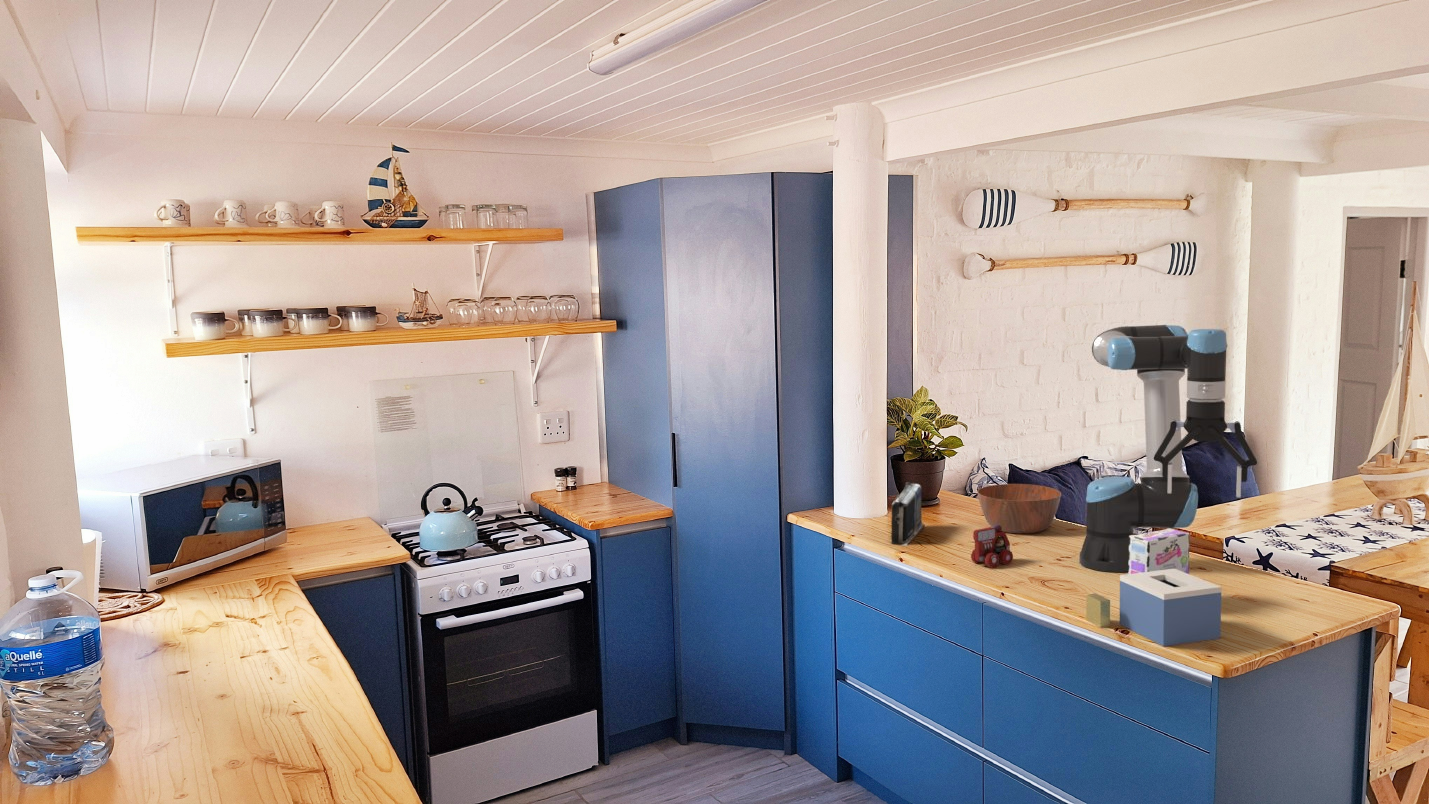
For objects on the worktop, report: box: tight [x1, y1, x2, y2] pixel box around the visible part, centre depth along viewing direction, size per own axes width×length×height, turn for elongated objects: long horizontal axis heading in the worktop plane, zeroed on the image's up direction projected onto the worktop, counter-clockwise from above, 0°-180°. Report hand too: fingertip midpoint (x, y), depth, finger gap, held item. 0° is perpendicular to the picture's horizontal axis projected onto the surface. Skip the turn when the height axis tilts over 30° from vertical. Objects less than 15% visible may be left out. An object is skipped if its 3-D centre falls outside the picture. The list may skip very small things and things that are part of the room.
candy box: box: [1127, 528, 1190, 574], centre depth 221 cm, size 14×6×16 cm, turn 114°
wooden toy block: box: [1085, 593, 1111, 629], centre depth 208 cm, size 5×2×6 cm, turn 13°
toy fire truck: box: [970, 525, 1014, 569], centre depth 256 cm, size 7×12×10 cm, turn 118°
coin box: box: [1119, 569, 1222, 647], centre depth 202 cm, size 14×14×11 cm
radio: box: [889, 482, 926, 547], centre depth 287 cm, size 23×9×15 cm, turn 148°
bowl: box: [976, 483, 1062, 535], centre depth 292 cm, size 25×25×11 cm
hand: (1203, 494), depth 208 cm, fingers open, 13 cm apart
